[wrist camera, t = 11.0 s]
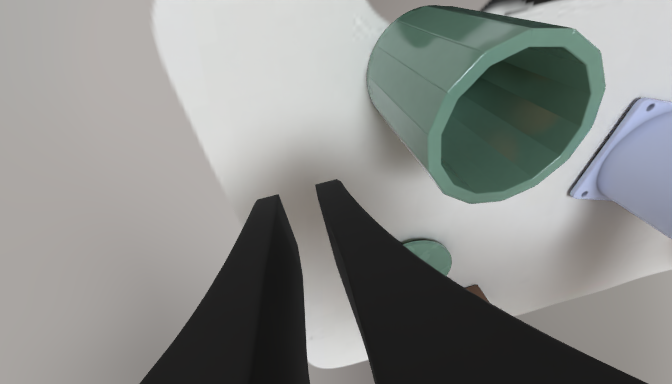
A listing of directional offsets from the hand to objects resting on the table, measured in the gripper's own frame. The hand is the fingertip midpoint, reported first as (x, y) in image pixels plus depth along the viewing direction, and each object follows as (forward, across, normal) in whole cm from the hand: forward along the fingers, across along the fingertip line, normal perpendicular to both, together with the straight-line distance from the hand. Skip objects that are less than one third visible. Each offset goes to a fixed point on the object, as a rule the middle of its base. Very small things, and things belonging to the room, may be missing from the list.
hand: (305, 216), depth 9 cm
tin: (+9, -8, 0) cm, 12 cm away
